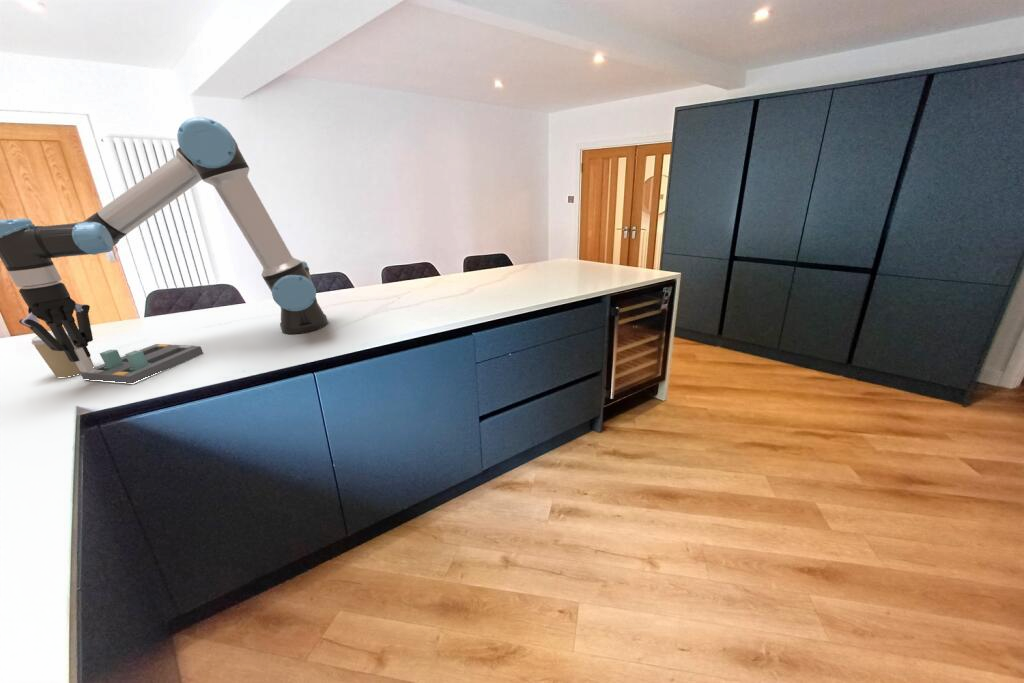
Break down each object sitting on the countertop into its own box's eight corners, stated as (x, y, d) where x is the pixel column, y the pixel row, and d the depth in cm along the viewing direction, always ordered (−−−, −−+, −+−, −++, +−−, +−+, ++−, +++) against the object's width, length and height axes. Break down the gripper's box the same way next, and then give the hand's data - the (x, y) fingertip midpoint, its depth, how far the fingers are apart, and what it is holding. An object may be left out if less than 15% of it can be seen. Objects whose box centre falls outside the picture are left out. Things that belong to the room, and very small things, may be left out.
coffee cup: (74, 366, 117) (53, 329, 112) (106, 363, 117) (87, 327, 113) (42, 381, 108) (18, 342, 104) (77, 378, 109) (56, 339, 104)
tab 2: (153, 367, 110) (145, 349, 108) (138, 373, 107) (129, 355, 105) (145, 366, 111) (137, 349, 109) (130, 372, 107) (121, 355, 105)
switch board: (203, 353, 121) (200, 345, 120) (133, 384, 103) (129, 375, 102) (159, 351, 125) (155, 343, 124) (84, 380, 107) (79, 372, 106)
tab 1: (128, 365, 112) (120, 348, 110) (112, 372, 108) (104, 354, 106) (120, 365, 113) (112, 348, 111) (105, 371, 109) (95, 354, 107)
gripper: (63, 278, 102) (104, 359, 111) (-8, 292, 90) (45, 381, 99) (83, 278, 100) (124, 360, 109) (14, 292, 88) (67, 383, 97)
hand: (87, 370), depth 104 cm, fingers closed
